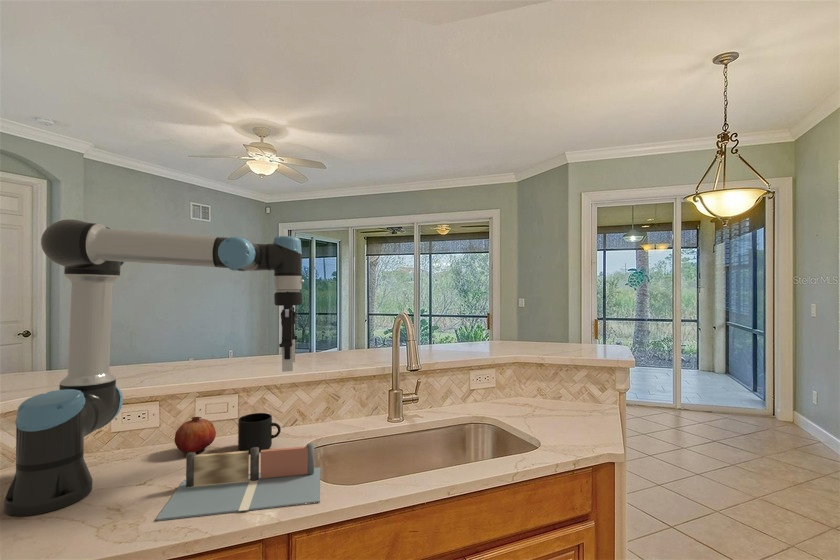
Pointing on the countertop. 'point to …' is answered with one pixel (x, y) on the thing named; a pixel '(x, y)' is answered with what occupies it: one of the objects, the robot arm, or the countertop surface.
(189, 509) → the mat
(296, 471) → the fence panel
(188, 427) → the fruit
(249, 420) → the mug
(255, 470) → the fence fixed
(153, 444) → the countertop surface
